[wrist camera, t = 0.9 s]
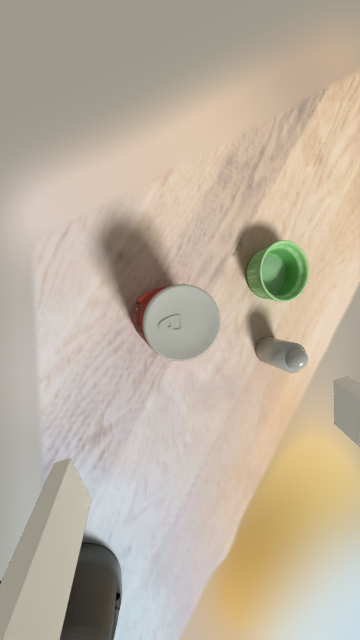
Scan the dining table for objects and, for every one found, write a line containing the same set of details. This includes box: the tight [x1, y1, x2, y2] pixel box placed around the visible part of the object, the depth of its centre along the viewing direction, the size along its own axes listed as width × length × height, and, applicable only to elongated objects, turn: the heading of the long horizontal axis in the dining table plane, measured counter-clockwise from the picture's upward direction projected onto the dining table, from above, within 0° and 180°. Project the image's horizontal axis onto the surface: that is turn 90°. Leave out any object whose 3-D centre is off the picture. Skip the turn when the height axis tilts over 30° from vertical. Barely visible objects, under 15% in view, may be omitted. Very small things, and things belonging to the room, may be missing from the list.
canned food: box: [132, 284, 220, 361], centre depth 27 cm, size 8×8×11 cm
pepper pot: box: [256, 337, 308, 373], centre depth 35 cm, size 4×4×8 cm
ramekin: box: [247, 240, 309, 302], centre depth 35 cm, size 9×9×4 cm
